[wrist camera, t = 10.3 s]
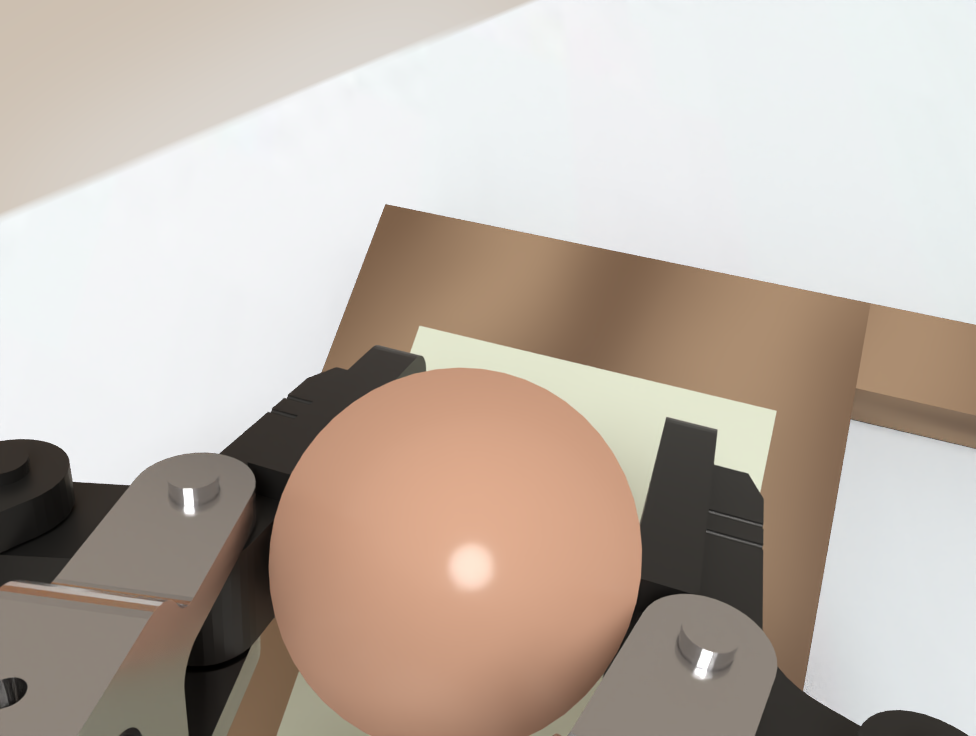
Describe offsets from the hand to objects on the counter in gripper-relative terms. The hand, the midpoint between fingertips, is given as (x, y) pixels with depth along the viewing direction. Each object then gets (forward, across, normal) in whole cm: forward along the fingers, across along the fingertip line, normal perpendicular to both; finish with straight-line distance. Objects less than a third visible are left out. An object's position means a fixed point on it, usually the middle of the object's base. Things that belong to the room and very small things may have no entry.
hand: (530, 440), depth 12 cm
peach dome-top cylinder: (+1, 0, +4) cm, 5 cm away
